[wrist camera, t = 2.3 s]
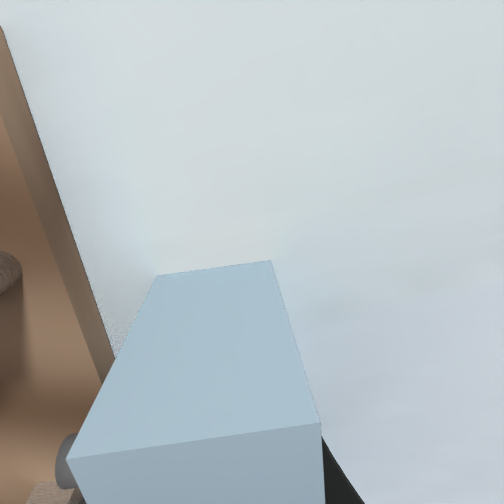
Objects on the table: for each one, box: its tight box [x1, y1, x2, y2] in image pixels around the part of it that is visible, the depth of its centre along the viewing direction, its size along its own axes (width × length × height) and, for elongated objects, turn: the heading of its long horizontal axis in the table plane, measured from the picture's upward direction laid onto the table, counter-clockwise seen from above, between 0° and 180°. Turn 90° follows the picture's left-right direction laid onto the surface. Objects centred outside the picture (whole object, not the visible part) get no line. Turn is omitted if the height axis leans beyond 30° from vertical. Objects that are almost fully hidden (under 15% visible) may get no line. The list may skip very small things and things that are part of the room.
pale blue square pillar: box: [55, 260, 325, 504], centre depth 9 cm, size 12×5×6 cm, turn 8°
